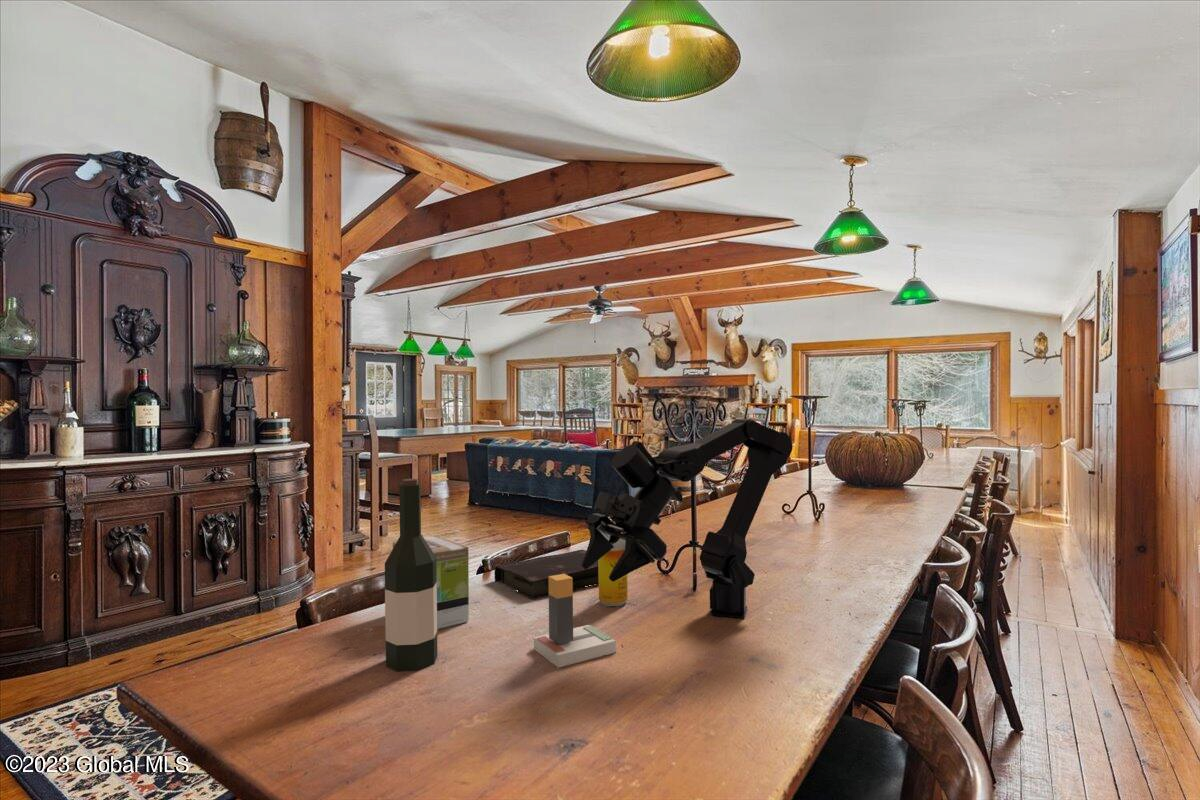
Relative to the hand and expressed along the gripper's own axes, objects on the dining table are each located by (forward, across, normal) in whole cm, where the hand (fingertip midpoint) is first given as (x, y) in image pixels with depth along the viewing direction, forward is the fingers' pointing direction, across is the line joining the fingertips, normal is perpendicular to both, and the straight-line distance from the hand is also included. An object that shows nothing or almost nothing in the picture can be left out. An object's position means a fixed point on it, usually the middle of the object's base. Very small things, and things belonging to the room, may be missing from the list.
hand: (596, 573), depth 112 cm
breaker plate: (+12, 0, +6) cm, 13 cm away
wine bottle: (+30, -11, -12) cm, 34 cm away
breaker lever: (+12, 0, +2) cm, 12 cm away
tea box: (+24, -30, -5) cm, 38 cm away
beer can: (-2, -18, +19) cm, 26 cm away
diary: (0, -38, +18) cm, 43 cm away
